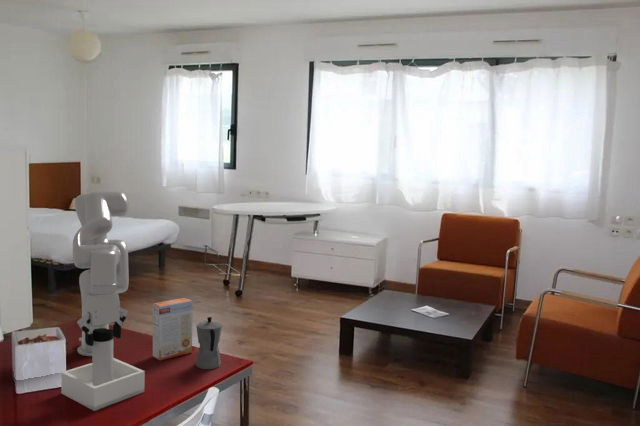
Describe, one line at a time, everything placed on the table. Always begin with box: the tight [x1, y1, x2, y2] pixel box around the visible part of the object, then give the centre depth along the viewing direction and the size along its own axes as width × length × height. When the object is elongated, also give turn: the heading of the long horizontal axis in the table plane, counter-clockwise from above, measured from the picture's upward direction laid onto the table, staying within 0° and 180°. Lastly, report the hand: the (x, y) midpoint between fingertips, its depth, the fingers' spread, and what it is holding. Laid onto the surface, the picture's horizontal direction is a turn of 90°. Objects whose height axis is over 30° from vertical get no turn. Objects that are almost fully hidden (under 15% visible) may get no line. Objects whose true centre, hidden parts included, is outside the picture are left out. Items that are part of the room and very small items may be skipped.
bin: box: [60, 357, 146, 412], centre depth 185 cm, size 18×18×7 cm
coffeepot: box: [195, 316, 223, 370], centre depth 210 cm, size 15×9×18 cm, turn 20°
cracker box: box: [152, 297, 194, 361], centre depth 219 cm, size 14×6×21 cm, turn 133°
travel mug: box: [91, 328, 114, 386], centre depth 184 cm, size 6×7×20 cm
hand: (103, 341), depth 184 cm, fingers open, 9 cm apart
